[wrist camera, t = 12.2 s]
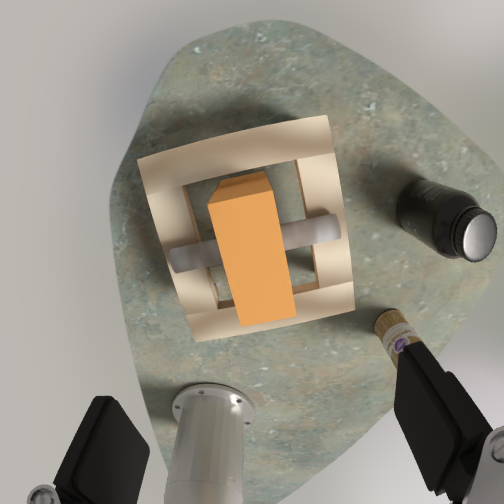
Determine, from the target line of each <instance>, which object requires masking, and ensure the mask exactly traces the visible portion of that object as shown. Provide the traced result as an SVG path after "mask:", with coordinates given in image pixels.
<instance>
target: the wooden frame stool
mask: <svg viewBox="0 0 504 504" xmlns="http://www.w3.org/2000/svg"><path fill="white" fill-rule="evenodd" d="M291 160H295V165H296V169H297V174H298V179H299V184H300V189H301V195H302V200H303V205H304V210H305V216H306V219H305V220H300V221H295V222H290V223H286V224H281V225H280V229H281V234H282V239H283V244H284V249H285V251H286V250H290V249H295V248H300V247H304V246H309V245H311V250H312V256H313V263H314V269H315V275H316V282H312V283H307V284H303V285H298V286H293V287H292V292H293V297H294V303H295V309H296V314H297V316H295V317H290V318H285V319H280V320H275V321H270V322H265V323H260V324H255V325H249V326H244V327H241V324H240V320H239V317H238V314H237V310H236V307H235V303H234V300H233V299H230V300H225V301H219V300H218V299H219V293H218V290H217V286H216V284H214V283H213V280H212V276H211V273H210V270H209V267H210V266H215V265H220V264H223V261H222V257H221V253H220V250H219V246H218V242H217V239H212V240H208V241H203V242H201V239H200V235H199V232H198V228H197V224H196V221H195V217H194V213H193V210H192V206H191V202H190V199H189V195H188V191H187V187H186V184H190V183H194V182H198V181H202V180H206V179H210V178H214V177H218V176H222V175H226V174H230V173H235V172H239V171H243V170H248V169H252V168H257V167H262V166H266V165H271V164H276V163H281V162H286V161H291ZM137 162H138V166H139V170H140V174H141V177H142V181H143V185H144V188H145V192H146V196H147V199H148V203H149V206H150V210H151V213H152V216H153V220H154V223H155V226H156V230H157V233H158V236H159V239H160V242H161V246H162V249H163V252H164V255H165V258H166V261H167V264H168V267H169V270H170V273H171V276H172V279H173V282H174V285H175V288H176V290H177V293H178V296H179V299H180V302H181V305H182V307H183V310H184V313H185V315H186V318H187V321H188V323H189V326H190V329H191V331H192V334H193V337H194V339H195V342H200V341H206V340H212V339H218V338H224V337H230V336H236V335H242V334H247V333H253V332H258V331H263V330H268V329H273V328H278V327H283V326H288V325H293V324H298V323H302V322H307V321H311V320H316V319H320V318H324V317H329V316H333V315H337V314H341V313H345V312H349V311H353V310H355V301H354V289H353V278H352V268H351V259H350V250H349V242H348V234H347V226H346V219H345V212H344V205H343V198H342V192H341V186H340V180H339V174H338V168H337V163H336V157H335V152H334V147H333V142H332V137H331V132H330V127H329V122H328V118H327V115H322V116H316V117H309V118H303V119H297V120H292V121H286V122H281V123H276V124H270V125H265V126H261V127H256V128H251V129H247V130H242V131H238V132H233V133H229V134H225V135H221V136H217V137H213V138H209V139H205V140H201V141H198V142H194V143H190V144H187V145H183V146H180V147H176V148H173V149H169V150H166V151H163V152H159V153H156V154H153V155H150V156H147V157H143V158H140V159H137Z"/></svg>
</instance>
